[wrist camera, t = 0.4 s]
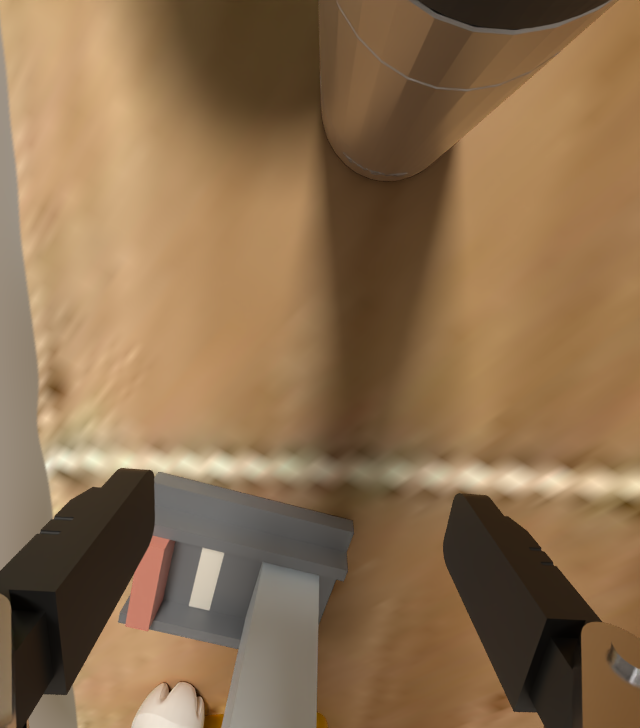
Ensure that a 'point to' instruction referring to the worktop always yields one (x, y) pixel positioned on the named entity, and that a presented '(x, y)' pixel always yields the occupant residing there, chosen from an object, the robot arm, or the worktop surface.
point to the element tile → (215, 722)
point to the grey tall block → (277, 654)
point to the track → (225, 558)
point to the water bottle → (171, 708)
